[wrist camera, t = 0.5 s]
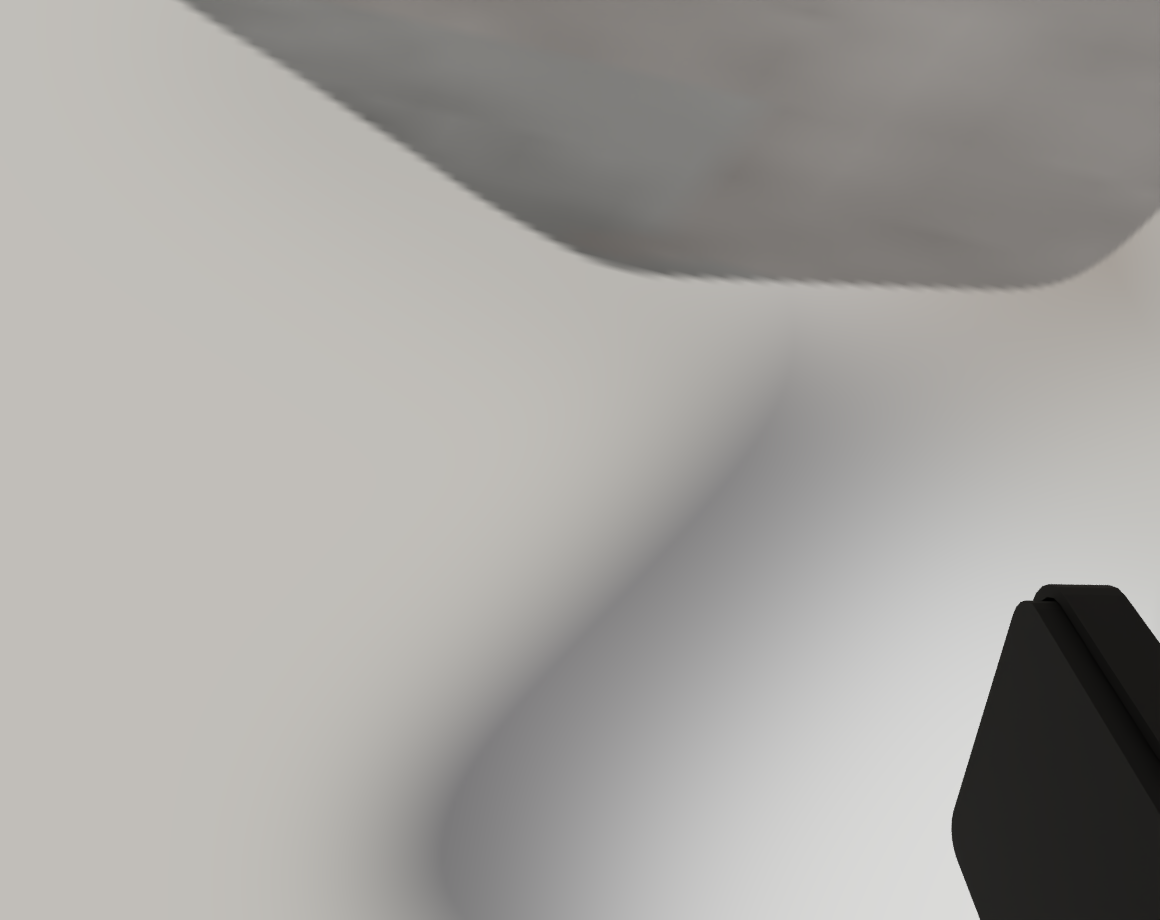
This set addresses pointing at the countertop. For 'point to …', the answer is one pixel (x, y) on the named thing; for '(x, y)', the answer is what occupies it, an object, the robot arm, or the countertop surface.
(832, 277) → the countertop surface
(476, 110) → the countertop surface
